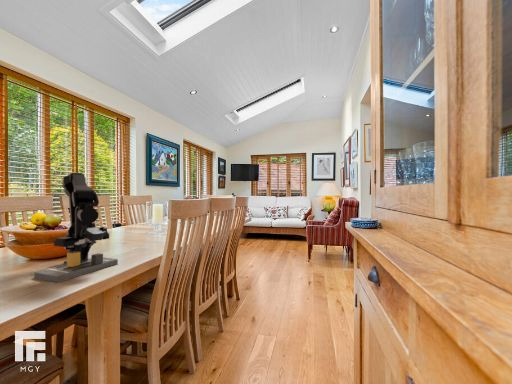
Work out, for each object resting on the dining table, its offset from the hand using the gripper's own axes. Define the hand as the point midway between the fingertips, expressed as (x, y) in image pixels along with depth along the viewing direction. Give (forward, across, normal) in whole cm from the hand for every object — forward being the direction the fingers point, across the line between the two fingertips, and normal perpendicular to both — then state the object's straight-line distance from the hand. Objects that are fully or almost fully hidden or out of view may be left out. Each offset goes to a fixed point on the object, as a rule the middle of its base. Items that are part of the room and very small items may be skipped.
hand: (83, 260), depth 101 cm
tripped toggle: (+1, -4, 0) cm, 4 cm away
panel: (+4, -2, 0) cm, 4 cm away
